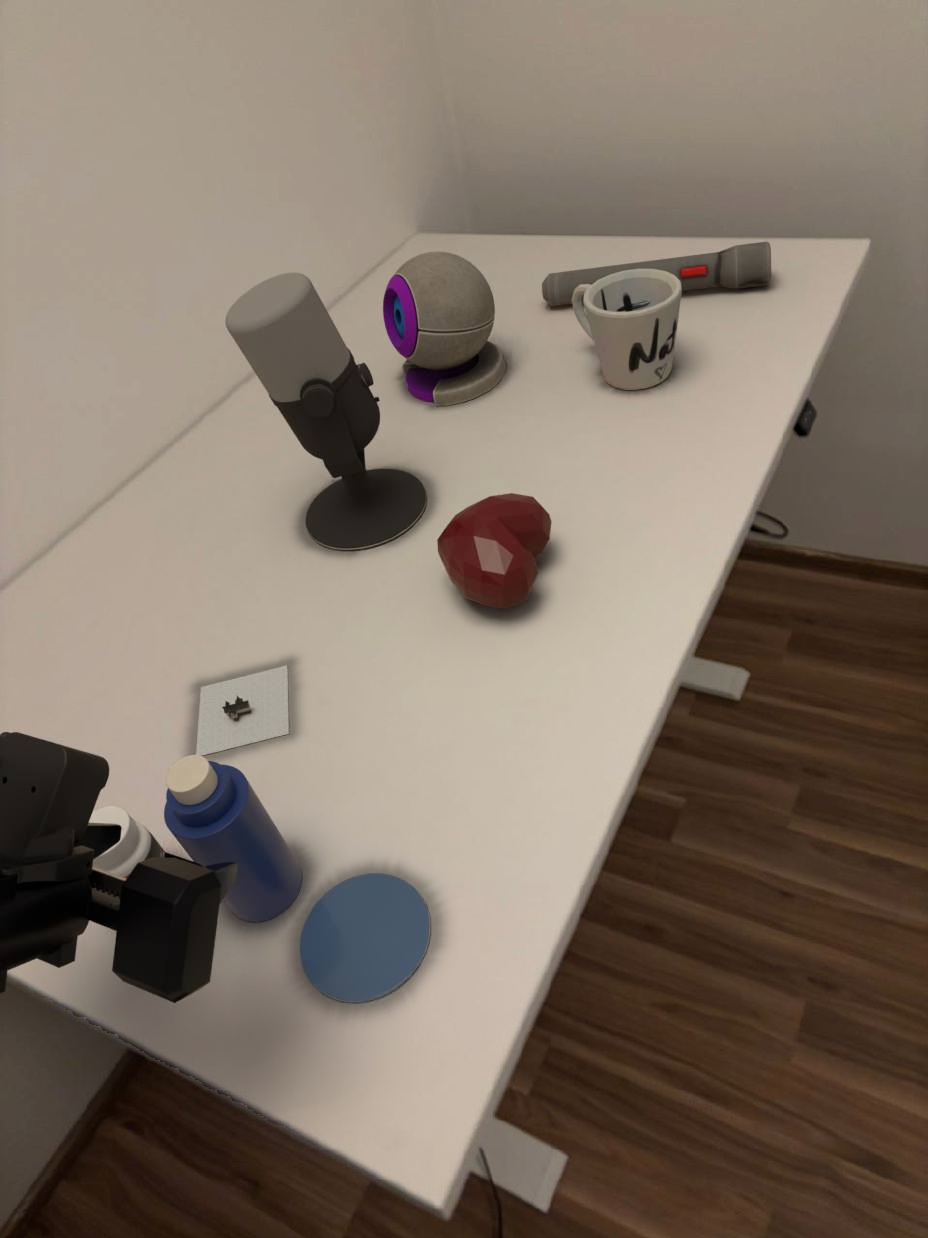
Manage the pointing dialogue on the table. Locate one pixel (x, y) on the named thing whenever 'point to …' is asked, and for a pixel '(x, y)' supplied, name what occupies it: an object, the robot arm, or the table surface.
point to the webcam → (443, 328)
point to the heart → (495, 548)
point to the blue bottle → (231, 835)
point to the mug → (632, 324)
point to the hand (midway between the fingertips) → (175, 851)
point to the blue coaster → (365, 937)
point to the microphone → (325, 411)
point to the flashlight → (677, 272)
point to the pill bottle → (125, 843)
